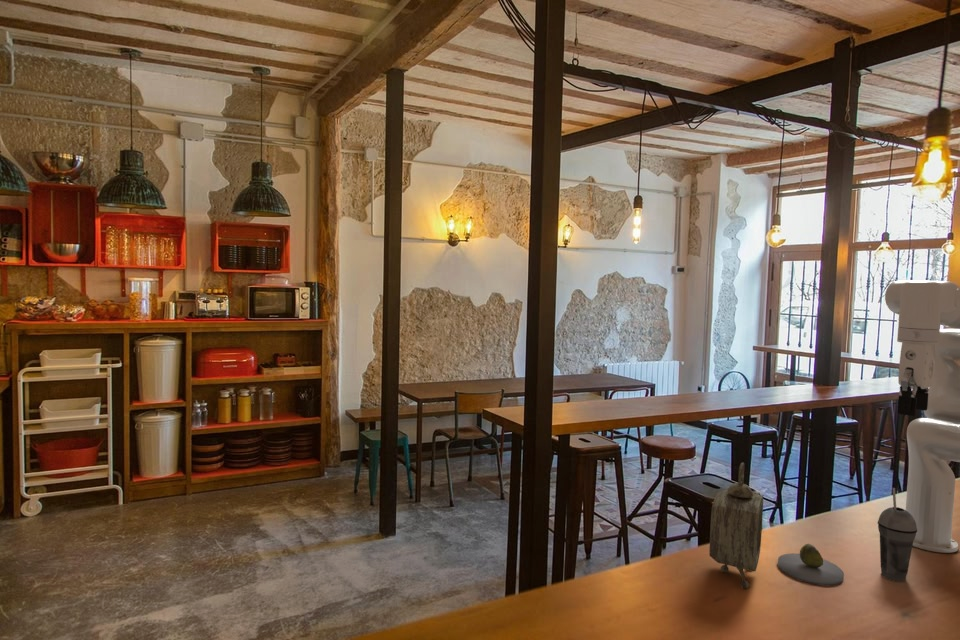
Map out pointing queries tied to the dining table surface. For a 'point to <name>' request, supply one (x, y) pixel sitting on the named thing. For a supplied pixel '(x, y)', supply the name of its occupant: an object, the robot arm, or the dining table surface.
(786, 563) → the slate plate
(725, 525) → the tabletop clock
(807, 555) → the lime
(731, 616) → the dining table surface
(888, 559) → the beverage cup
